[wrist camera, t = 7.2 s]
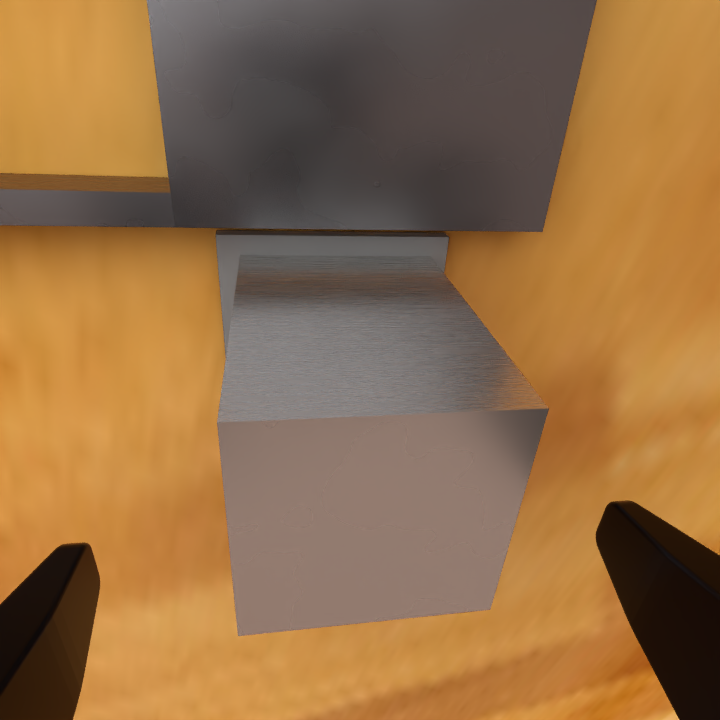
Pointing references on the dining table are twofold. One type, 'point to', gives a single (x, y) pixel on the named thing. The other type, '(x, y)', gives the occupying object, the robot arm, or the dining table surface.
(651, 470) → the dining table surface
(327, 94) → the plate with rectangular hole
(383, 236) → the pad
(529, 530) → the dining table surface
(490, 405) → the brushed metal block
